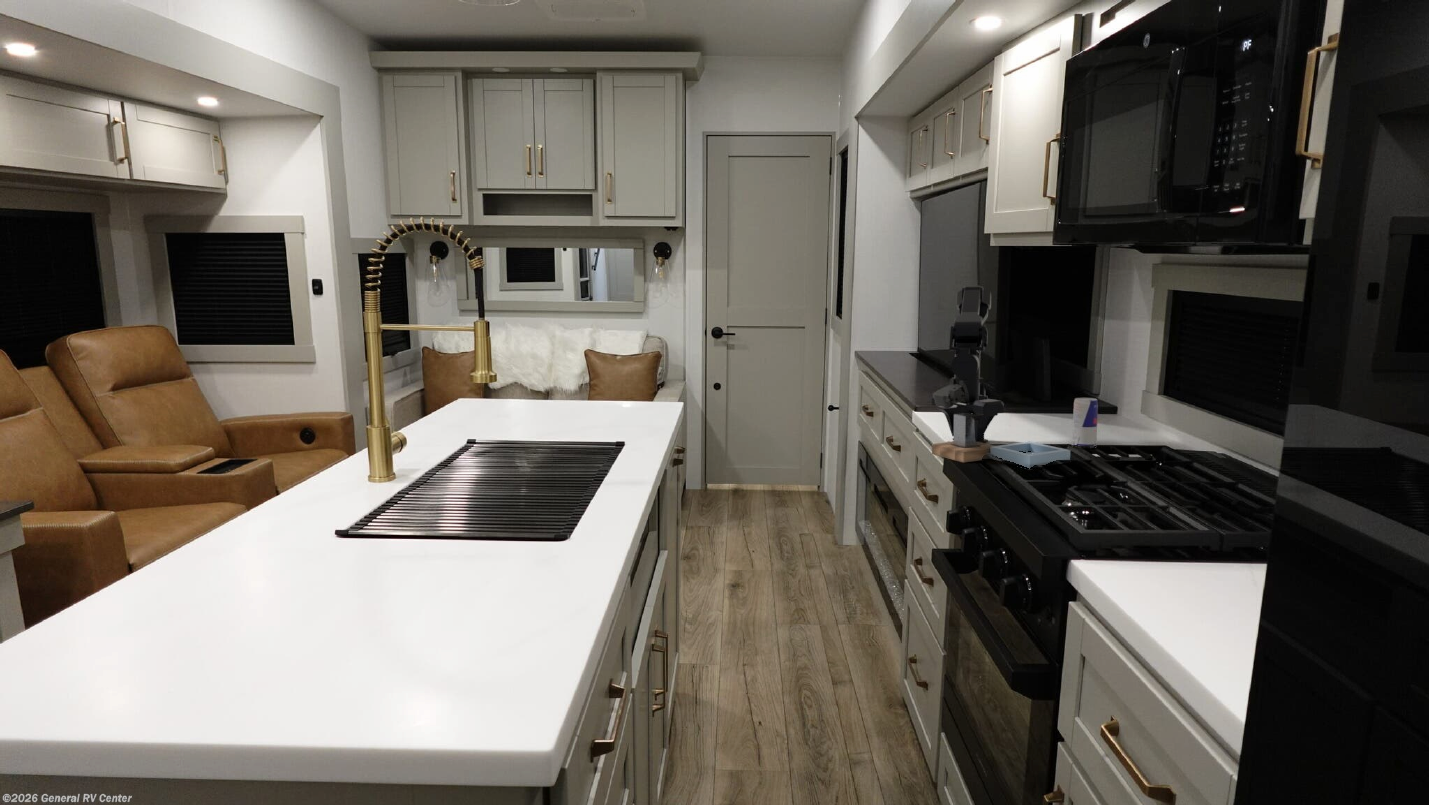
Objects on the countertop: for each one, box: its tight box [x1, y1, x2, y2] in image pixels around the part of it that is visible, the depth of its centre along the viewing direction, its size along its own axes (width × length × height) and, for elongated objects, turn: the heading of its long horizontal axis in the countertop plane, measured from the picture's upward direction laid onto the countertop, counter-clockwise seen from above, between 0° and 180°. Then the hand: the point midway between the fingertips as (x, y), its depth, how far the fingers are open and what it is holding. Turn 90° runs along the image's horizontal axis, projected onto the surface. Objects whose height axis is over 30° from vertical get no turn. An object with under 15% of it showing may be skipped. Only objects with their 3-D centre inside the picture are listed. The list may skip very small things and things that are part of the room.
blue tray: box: [990, 441, 1071, 470], centre depth 180 cm, size 12×12×3 cm
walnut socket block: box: [931, 440, 995, 463], centre depth 188 cm, size 11×11×2 cm
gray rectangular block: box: [953, 413, 978, 448], centre depth 187 cm, size 4×4×10 cm
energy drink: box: [1071, 397, 1099, 447], centre depth 193 cm, size 5×5×12 cm
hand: (965, 439), depth 188 cm, fingers open, 8 cm apart
